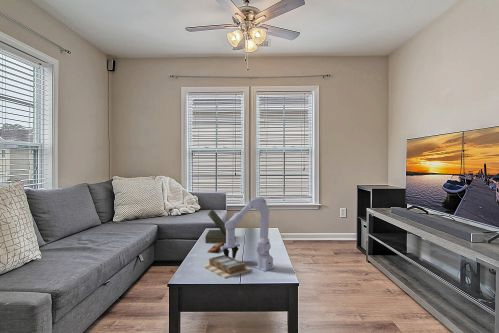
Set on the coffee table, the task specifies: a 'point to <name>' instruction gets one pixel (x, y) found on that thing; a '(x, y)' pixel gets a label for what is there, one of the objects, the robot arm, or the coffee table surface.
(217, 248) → the sweet potato
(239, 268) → the tan cardboard box
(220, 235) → the green open lidded box
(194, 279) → the coffee table surface
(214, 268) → the birch board
